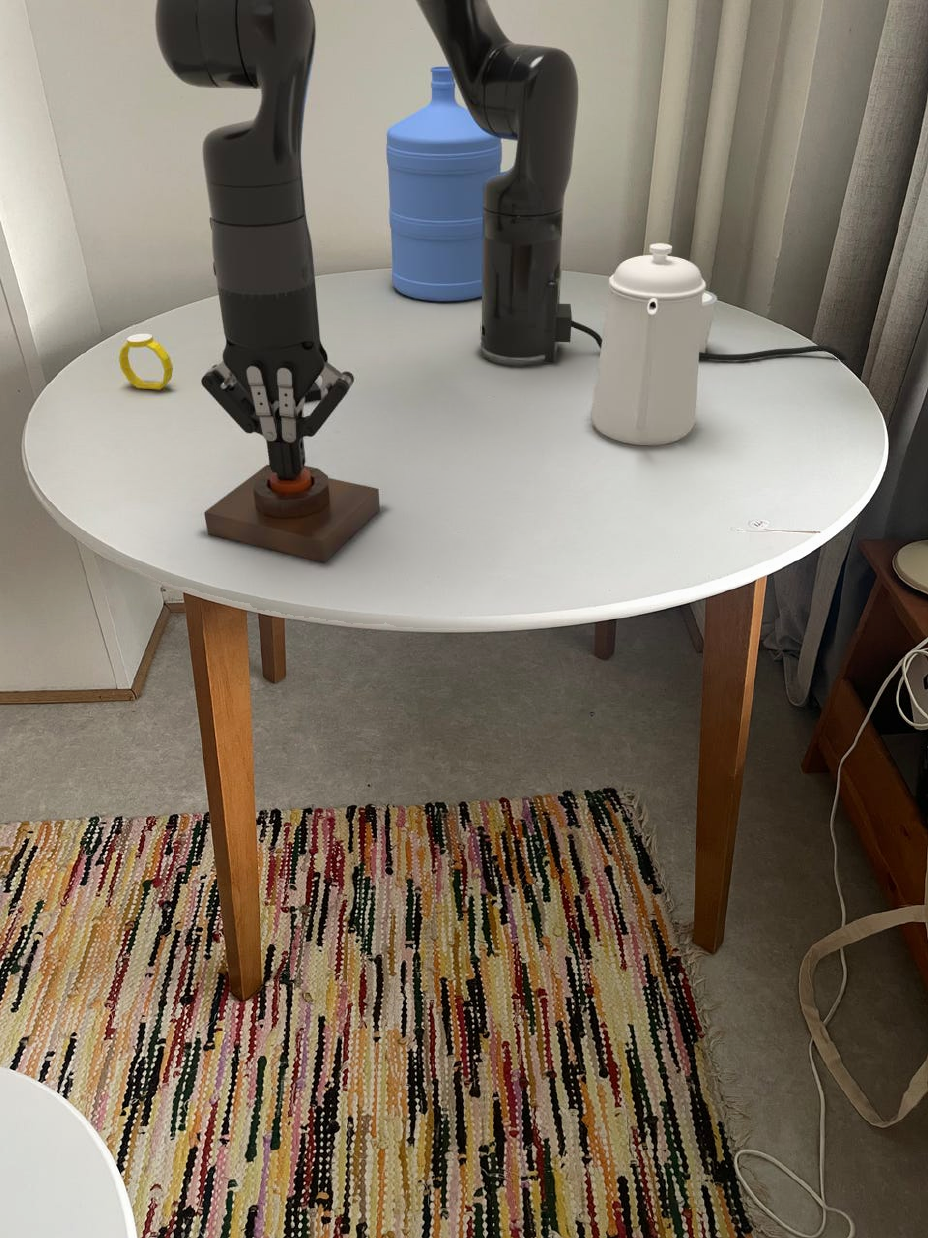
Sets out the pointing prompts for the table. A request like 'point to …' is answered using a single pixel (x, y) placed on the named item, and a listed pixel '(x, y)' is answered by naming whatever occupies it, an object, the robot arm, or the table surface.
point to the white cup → (706, 318)
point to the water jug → (439, 196)
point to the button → (291, 483)
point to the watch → (148, 341)
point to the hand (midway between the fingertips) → (288, 475)
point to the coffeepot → (650, 350)
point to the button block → (294, 515)
